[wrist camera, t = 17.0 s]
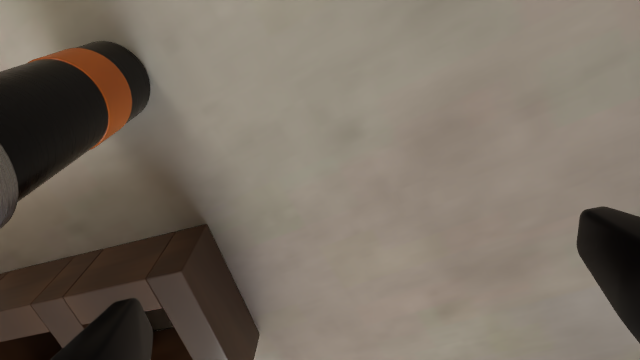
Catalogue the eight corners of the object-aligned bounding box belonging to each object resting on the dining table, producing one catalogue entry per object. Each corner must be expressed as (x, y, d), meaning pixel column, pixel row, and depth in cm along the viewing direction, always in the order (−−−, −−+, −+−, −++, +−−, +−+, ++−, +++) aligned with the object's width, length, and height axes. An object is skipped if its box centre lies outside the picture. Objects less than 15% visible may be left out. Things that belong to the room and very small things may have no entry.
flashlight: (175, 102, 21) (-35, 273, 9) (104, 139, 22) (-161, 333, 10) (119, 16, 19) (-213, 96, 8) (46, 60, 20) (-339, 187, 9)
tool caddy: (207, 223, 23) (181, 270, 20) (260, 334, 27) (246, 393, 23) (-16, 276, 26) (-74, 327, 22) (57, 372, 29) (16, 430, 26)
